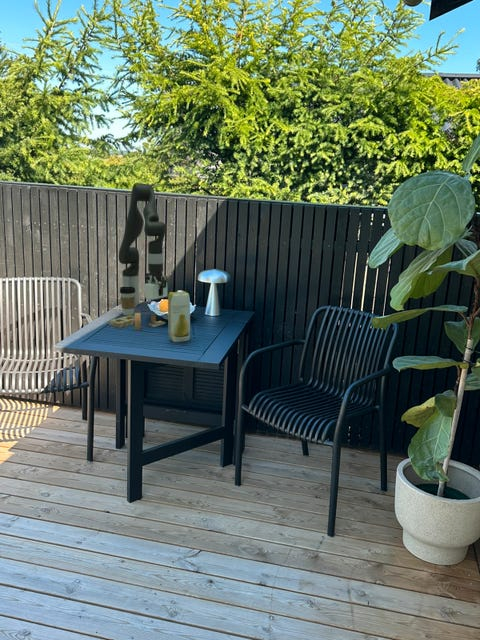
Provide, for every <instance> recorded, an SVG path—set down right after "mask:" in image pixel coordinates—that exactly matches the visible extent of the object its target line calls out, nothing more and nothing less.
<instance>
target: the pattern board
mask: <svg viewBox="0 0 480 640" xmlns="http://www.w3.org/2000/svg"><path fill="white" fill-rule="evenodd" d="M165 324H166V322H165V321H162V320H159V321H157V317H156V315H155V314H151V315H150V323H148V326H150V327H153V328H155V327H159V326H162V325H165Z"/></svg>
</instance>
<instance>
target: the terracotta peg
mask: <svg viewBox="0 0 480 640" xmlns="http://www.w3.org/2000/svg"><path fill="white" fill-rule="evenodd" d="M141 315H142V313H140V312H134V316H135V324H134V330H135V331H140V330H142V319H141V318H142V317H141Z"/></svg>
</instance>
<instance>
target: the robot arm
mask: <svg viewBox="0 0 480 640" xmlns="http://www.w3.org/2000/svg"><path fill="white" fill-rule="evenodd" d="M130 195H131V196H130V203H129V209H128V212H127V213H128V214H127V218H126V222H125V227H124V234H123V237H122V241H121V244H120V247H119V251H118V261H119V263H120V264H122V265H129V266H128V267H127V268H125V269H123V270H122V273H121V277H122V278H121V279H122V287H134V288H135V303H134V307H135V306H139V305H140V284H139V283H140V282H139V281H140V280H139V278H140V277H139V275H140V274H139V271H140V252H139V249H138V247H136V246H135V247H132V245H133V243H134V242H135V241H136V240H137V239H138V237H140V235H141V234H142V232H143V231H144V234H145V235H146V236H147V237H157V238H156V239H154V240H151V241H148V243H147V248H148V249H147V251H148V253H147V254H148V255H147V270H148V272H145V273H144V277H145V284H147V283H154V282H156V284H157V285H158V288H159V296H162V295H163V288H166V283H167V282H168V281H167V280H168V276H167V275H166V276H165V275H163V271H164V255H163V254H164V253H163V244H164V238H165V235H166V232H167V227H166V224H165V223H164V222H163V221H160V217H159V213H158V211H157V207H156V206H157V203H156V197H155V190H154V186H153V185H152V184H150V183H141V182H135V183H134V184H133V186H132V187H131V193H130ZM138 202H145V203H146V205H145V206H144V208H143V211H142V213H141V212H140V210H139V207H138ZM142 214H143V216H142ZM143 229H144V230H143ZM159 282H160V283H159ZM160 284H161V286H160ZM167 284H168V283H167ZM138 304H139V305H138Z"/></svg>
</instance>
